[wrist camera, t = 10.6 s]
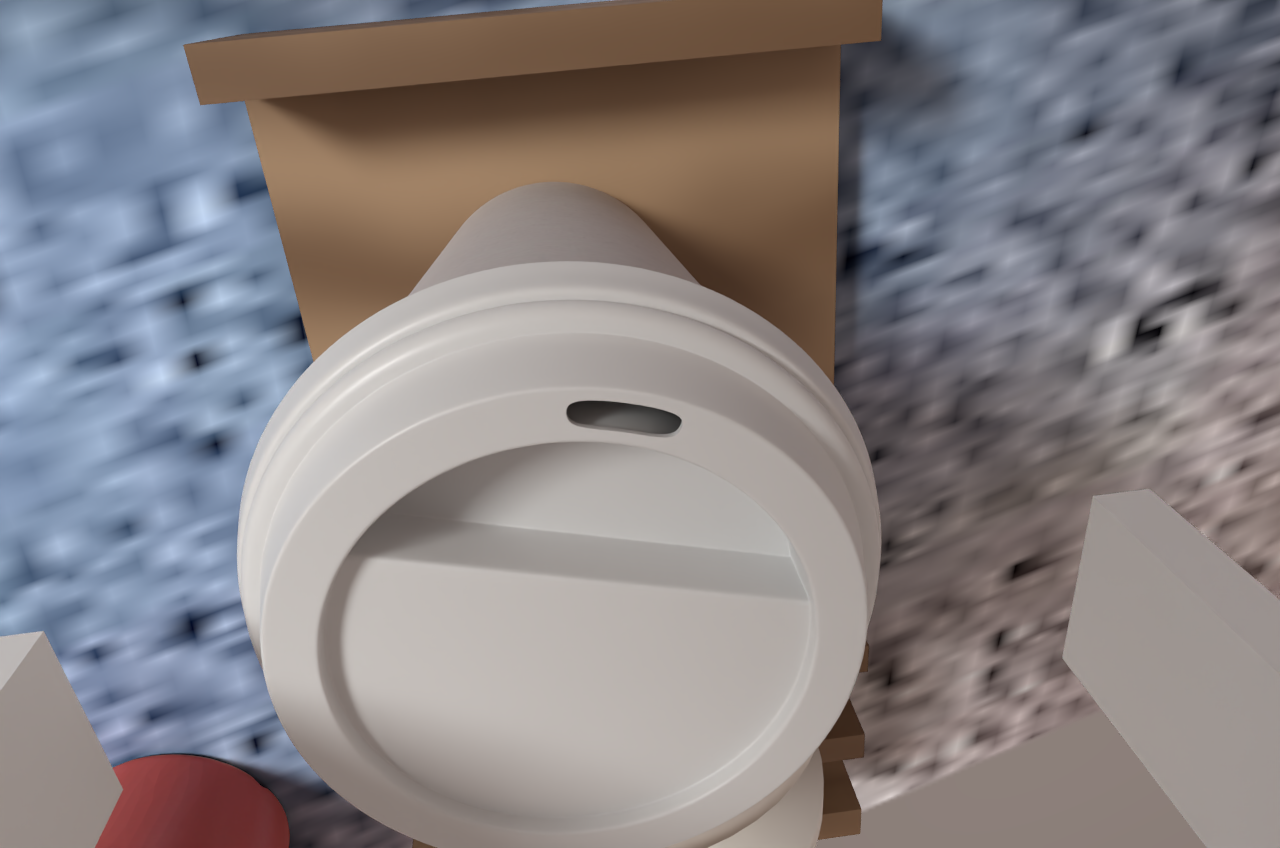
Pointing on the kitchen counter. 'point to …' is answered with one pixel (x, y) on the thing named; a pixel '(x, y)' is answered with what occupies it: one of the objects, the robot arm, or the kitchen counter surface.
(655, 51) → the dish rack
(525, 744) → the coffee cup
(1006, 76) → the kitchen counter surface
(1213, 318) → the kitchen counter surface
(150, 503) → the kitchen counter surface
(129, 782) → the flower pot
